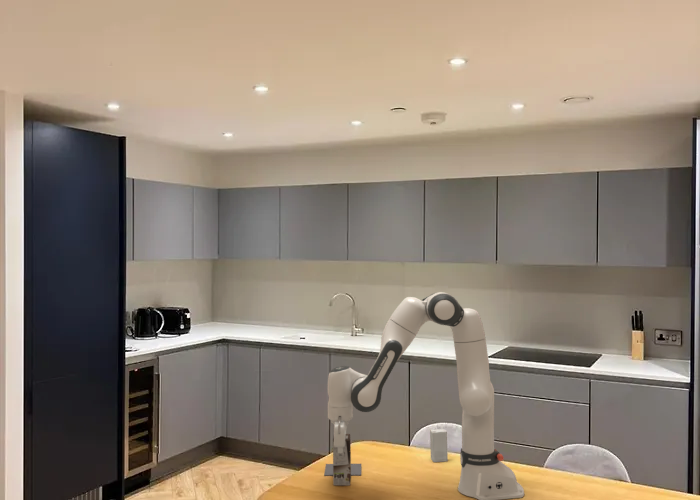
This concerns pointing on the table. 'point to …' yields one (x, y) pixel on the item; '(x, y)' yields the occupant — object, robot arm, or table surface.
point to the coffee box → (342, 463)
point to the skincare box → (438, 445)
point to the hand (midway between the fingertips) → (340, 452)
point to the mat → (354, 470)
